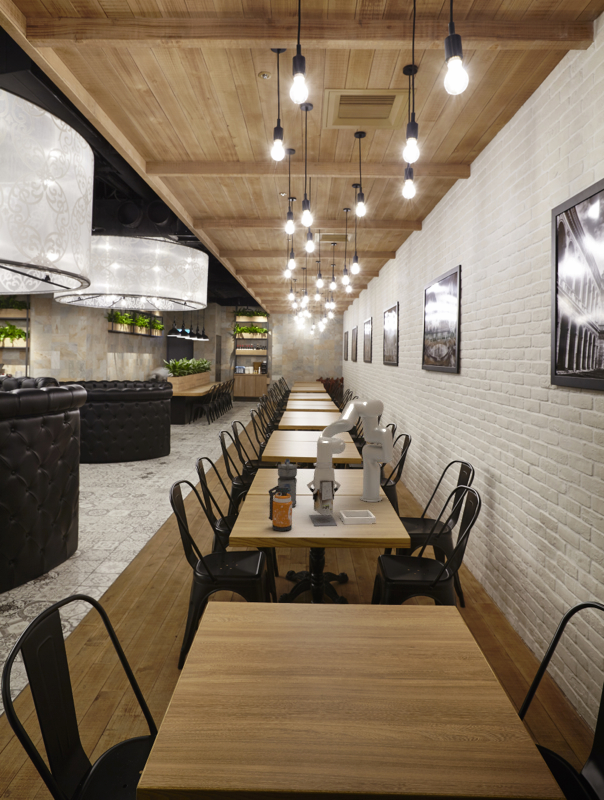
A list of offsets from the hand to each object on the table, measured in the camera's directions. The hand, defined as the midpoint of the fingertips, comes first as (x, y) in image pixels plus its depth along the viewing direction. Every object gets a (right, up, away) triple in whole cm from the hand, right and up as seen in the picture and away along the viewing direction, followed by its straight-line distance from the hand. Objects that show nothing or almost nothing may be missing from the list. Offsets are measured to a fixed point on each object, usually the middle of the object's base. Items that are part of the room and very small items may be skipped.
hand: (323, 500), depth 246 cm
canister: (-21, -11, -12) cm, 26 cm away
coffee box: (0, -6, 0) cm, 6 cm away
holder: (+17, -10, +3) cm, 20 cm away
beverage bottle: (-19, -8, +25) cm, 32 cm away
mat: (0, -10, +1) cm, 10 cm away
